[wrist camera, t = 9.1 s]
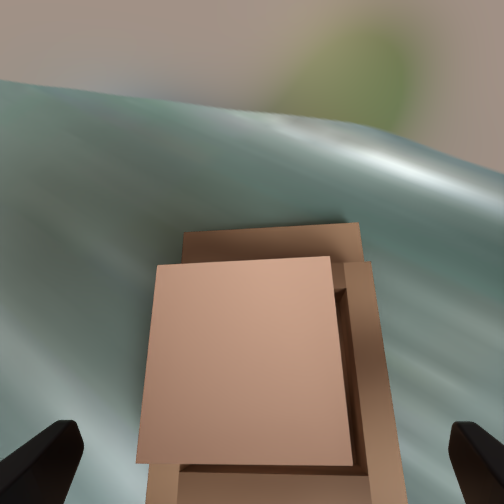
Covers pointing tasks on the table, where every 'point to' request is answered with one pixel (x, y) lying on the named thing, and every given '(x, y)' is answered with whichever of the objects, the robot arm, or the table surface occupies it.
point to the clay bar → (244, 366)
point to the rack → (354, 374)
